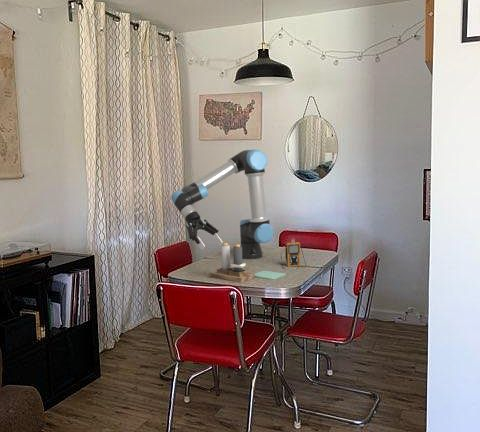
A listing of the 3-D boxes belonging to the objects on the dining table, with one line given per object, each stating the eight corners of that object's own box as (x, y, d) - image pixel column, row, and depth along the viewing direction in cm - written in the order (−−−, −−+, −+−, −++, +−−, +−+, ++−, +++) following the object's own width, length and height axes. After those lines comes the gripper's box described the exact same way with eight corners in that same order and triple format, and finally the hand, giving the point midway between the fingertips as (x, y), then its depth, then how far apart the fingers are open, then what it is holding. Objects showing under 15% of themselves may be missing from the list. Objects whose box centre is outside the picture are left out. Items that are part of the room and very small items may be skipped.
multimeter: (285, 270, 260) (284, 233, 258) (280, 266, 270) (279, 230, 268) (311, 268, 263) (311, 231, 261) (305, 264, 273) (304, 229, 270)
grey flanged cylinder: (237, 272, 249) (236, 243, 247) (249, 274, 244) (248, 244, 243) (230, 275, 245) (229, 245, 243) (242, 277, 240) (241, 246, 238)
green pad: (263, 271, 259) (263, 270, 259) (286, 274, 250) (286, 273, 250) (250, 276, 250) (250, 275, 249) (272, 279, 241) (272, 278, 241)
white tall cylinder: (225, 271, 253) (224, 242, 251) (232, 272, 250) (231, 243, 249) (220, 273, 250) (219, 243, 248) (226, 274, 247) (225, 244, 245)
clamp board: (224, 273, 258) (224, 265, 258) (254, 277, 246) (254, 270, 245) (210, 277, 250) (210, 269, 249) (241, 282, 237) (240, 274, 237)
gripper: (203, 217, 272) (224, 246, 264) (170, 222, 253) (192, 254, 245) (210, 208, 268) (231, 237, 260) (177, 213, 249) (199, 245, 241)
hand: (212, 246), depth 253 cm, fingers open, 13 cm apart
